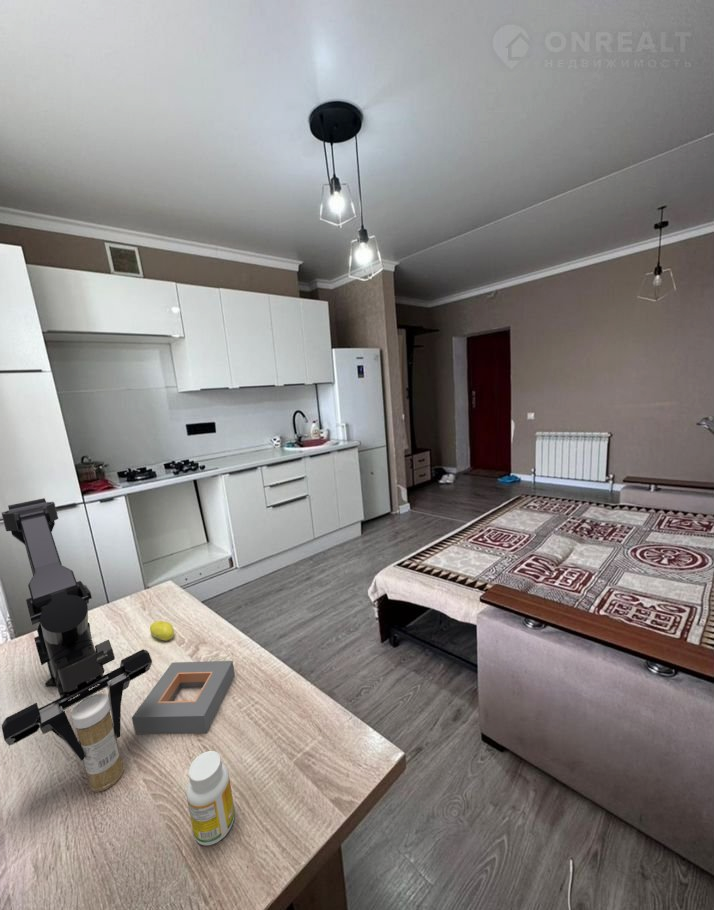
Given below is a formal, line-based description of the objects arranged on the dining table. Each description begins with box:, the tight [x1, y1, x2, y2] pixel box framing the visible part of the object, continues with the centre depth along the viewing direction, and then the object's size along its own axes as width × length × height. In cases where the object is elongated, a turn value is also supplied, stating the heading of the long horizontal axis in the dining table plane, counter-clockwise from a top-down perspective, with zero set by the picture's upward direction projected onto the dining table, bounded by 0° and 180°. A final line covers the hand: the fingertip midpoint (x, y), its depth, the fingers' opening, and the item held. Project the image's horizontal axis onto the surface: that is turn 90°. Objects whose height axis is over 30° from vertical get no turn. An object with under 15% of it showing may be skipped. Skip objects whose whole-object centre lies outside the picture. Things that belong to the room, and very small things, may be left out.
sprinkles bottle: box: [70, 693, 125, 793], centre depth 57 cm, size 5×5×13 cm
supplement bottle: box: [185, 750, 236, 846], centre depth 50 cm, size 5×5×10 cm
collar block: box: [131, 660, 236, 735], centre depth 71 cm, size 13×13×4 cm
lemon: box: [149, 620, 175, 641], centre depth 92 cm, size 4×8×4 cm, turn 53°
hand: (101, 748), depth 56 cm, fingers closed on sprinkles bottle, 4 cm apart
